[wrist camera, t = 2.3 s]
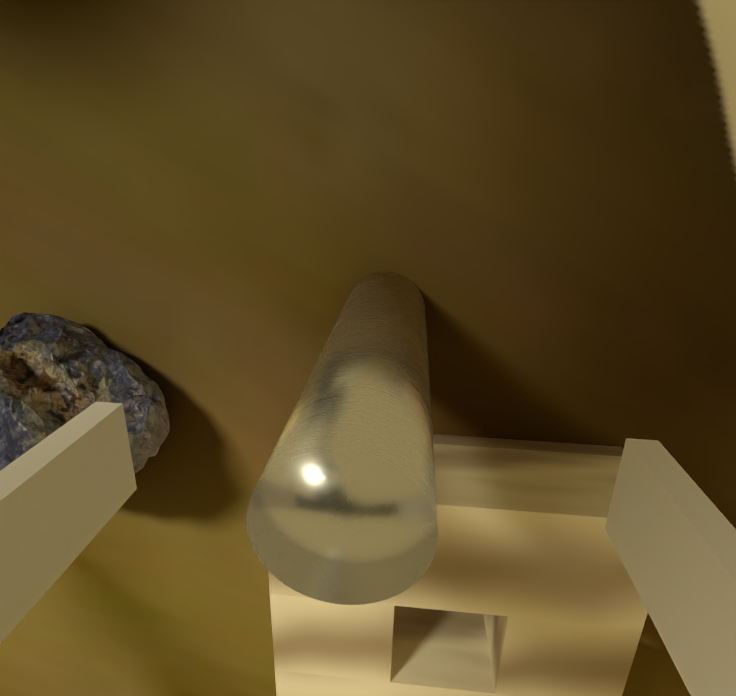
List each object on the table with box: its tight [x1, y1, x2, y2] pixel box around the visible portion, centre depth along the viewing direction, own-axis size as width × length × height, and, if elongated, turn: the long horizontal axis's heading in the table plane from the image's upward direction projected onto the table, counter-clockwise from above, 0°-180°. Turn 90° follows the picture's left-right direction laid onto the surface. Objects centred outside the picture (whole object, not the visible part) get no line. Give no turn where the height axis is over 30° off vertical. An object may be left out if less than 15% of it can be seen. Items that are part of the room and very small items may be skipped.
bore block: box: [268, 434, 648, 696], centre depth 28 cm, size 18×18×6 cm
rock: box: [0, 312, 170, 474], centre depth 26 cm, size 11×10×10 cm
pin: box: [247, 272, 438, 605], centre depth 18 cm, size 4×4×16 cm
